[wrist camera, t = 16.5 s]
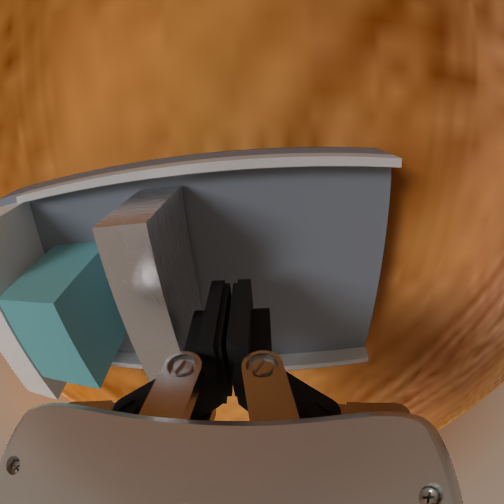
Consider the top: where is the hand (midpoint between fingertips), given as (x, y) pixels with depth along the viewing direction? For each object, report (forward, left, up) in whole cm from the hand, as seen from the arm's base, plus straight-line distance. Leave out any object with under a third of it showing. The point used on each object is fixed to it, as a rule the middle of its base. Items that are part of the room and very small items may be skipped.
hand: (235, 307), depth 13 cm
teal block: (+6, +6, -2) cm, 9 cm away
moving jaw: (+2, +2, -2) cm, 4 cm away
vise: (+3, +2, -4) cm, 6 cm away
